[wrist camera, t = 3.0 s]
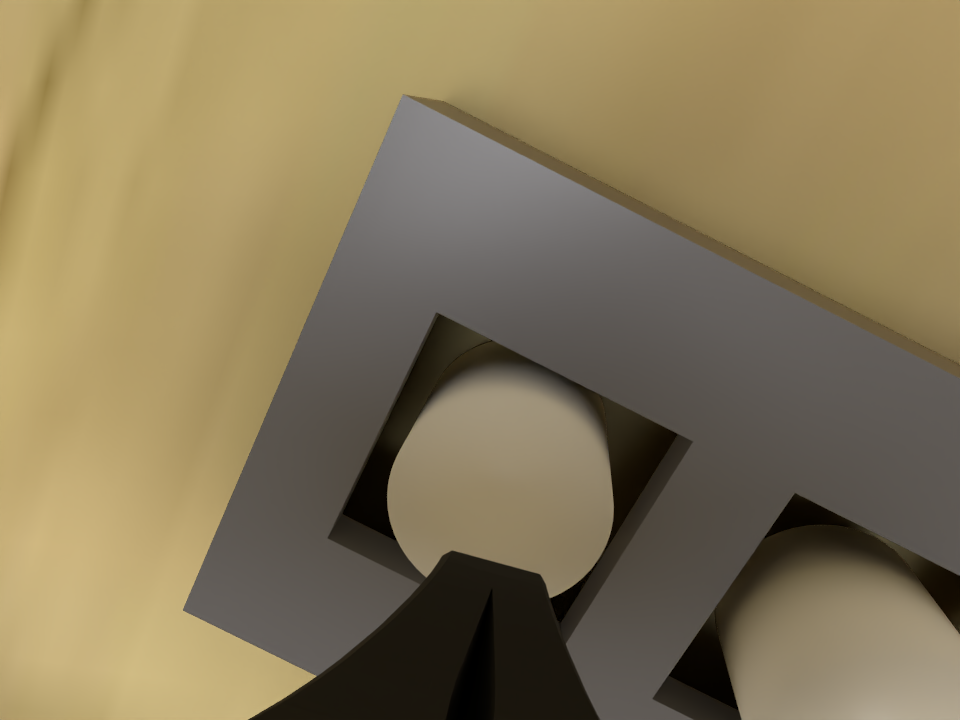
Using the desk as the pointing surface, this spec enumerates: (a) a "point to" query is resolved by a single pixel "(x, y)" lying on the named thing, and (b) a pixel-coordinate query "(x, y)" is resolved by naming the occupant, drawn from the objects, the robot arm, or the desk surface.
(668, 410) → the grey slotted tray
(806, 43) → the desk surface
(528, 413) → the button
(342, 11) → the desk surface
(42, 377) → the desk surface
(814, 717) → the button
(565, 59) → the desk surface
